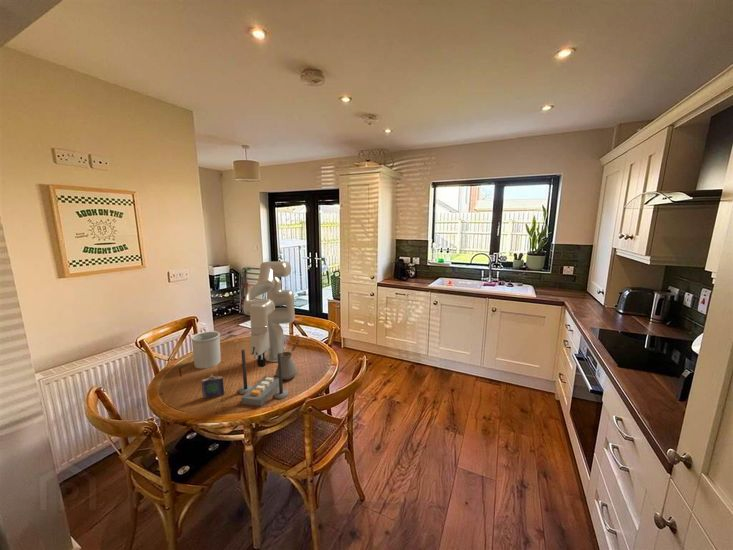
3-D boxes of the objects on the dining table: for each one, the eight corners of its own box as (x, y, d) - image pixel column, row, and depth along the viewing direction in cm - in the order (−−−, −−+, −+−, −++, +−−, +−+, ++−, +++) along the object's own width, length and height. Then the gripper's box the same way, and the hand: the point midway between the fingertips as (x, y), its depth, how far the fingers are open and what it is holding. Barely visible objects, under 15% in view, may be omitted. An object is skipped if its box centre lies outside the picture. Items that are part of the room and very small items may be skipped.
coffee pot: (291, 383, 150) (289, 356, 148) (271, 380, 153) (269, 353, 150) (308, 364, 170) (308, 340, 168) (291, 362, 173) (290, 338, 171)
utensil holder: (227, 358, 178) (225, 331, 176) (212, 370, 164) (209, 340, 161) (204, 357, 180) (202, 330, 177) (187, 368, 165) (184, 339, 162)
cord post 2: (278, 390, 143) (276, 350, 140) (290, 392, 142) (288, 351, 138) (271, 398, 137) (269, 355, 133) (284, 399, 135) (282, 357, 132)
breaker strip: (264, 381, 152) (264, 373, 151) (282, 383, 150) (282, 375, 149) (241, 403, 132) (240, 394, 132) (261, 406, 130) (260, 397, 130)
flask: (202, 399, 136) (200, 378, 134) (203, 396, 138) (201, 375, 137) (223, 395, 139) (222, 374, 137) (224, 392, 141) (223, 372, 140)
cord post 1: (243, 386, 147) (241, 347, 143) (255, 388, 145) (252, 348, 142) (236, 393, 140) (232, 352, 137) (247, 395, 139) (245, 353, 136)
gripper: (261, 324, 144) (263, 359, 146) (242, 334, 129) (245, 372, 132) (274, 325, 142) (276, 360, 145) (258, 335, 128) (260, 374, 131)
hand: (261, 366), depth 139 cm, fingers closed
